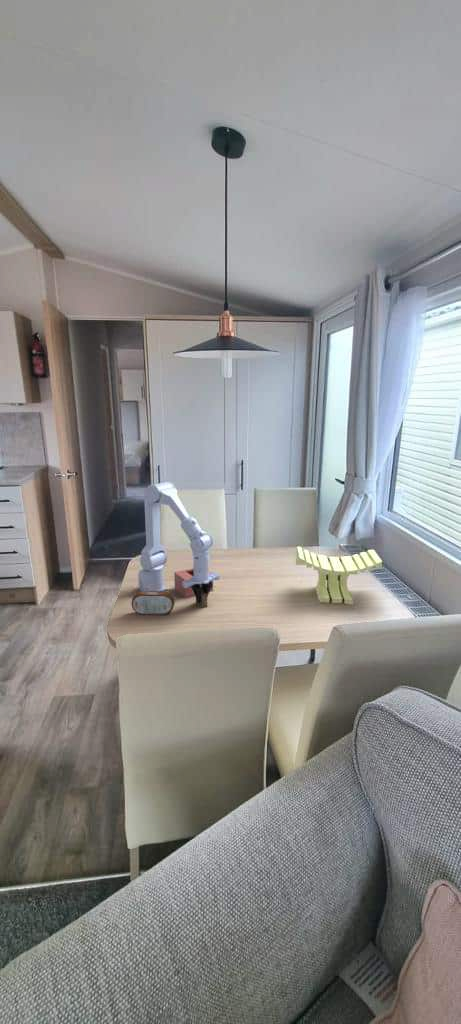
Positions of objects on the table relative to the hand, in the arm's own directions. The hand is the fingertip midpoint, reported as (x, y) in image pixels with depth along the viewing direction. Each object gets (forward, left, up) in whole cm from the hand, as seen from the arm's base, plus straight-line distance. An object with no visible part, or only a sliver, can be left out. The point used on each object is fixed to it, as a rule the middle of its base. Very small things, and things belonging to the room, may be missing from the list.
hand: (201, 601), depth 161 cm
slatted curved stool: (+49, -20, -2) cm, 53 cm away
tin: (-18, +3, -2) cm, 18 cm away
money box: (+4, +13, -1) cm, 14 cm away
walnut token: (0, 0, -1) cm, 1 cm away
